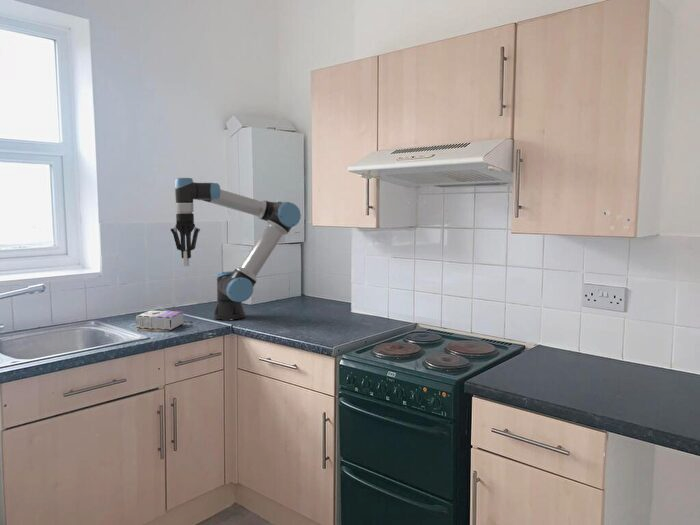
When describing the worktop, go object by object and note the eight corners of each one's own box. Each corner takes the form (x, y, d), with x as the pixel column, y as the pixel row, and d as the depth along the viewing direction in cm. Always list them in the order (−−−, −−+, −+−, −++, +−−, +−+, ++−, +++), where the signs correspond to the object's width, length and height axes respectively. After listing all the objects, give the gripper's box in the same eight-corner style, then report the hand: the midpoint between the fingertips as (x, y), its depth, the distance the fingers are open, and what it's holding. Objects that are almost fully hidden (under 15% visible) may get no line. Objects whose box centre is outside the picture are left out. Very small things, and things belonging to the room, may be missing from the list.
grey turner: (192, 321, 265) (192, 319, 265) (189, 323, 261) (189, 321, 261) (160, 320, 267) (160, 318, 267) (157, 322, 263) (156, 320, 263)
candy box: (183, 323, 258) (150, 322, 260) (183, 311, 258) (149, 309, 259) (171, 330, 244) (135, 328, 246) (170, 317, 244) (135, 315, 246)
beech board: (182, 324, 260) (182, 322, 260) (167, 331, 244) (167, 330, 244) (153, 323, 261) (153, 321, 261) (137, 330, 245) (137, 329, 245)
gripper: (202, 212, 251) (203, 264, 254) (173, 212, 252) (175, 264, 254) (196, 213, 244) (197, 266, 246) (167, 213, 244) (169, 266, 247)
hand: (186, 265), depth 250 cm, fingers closed
